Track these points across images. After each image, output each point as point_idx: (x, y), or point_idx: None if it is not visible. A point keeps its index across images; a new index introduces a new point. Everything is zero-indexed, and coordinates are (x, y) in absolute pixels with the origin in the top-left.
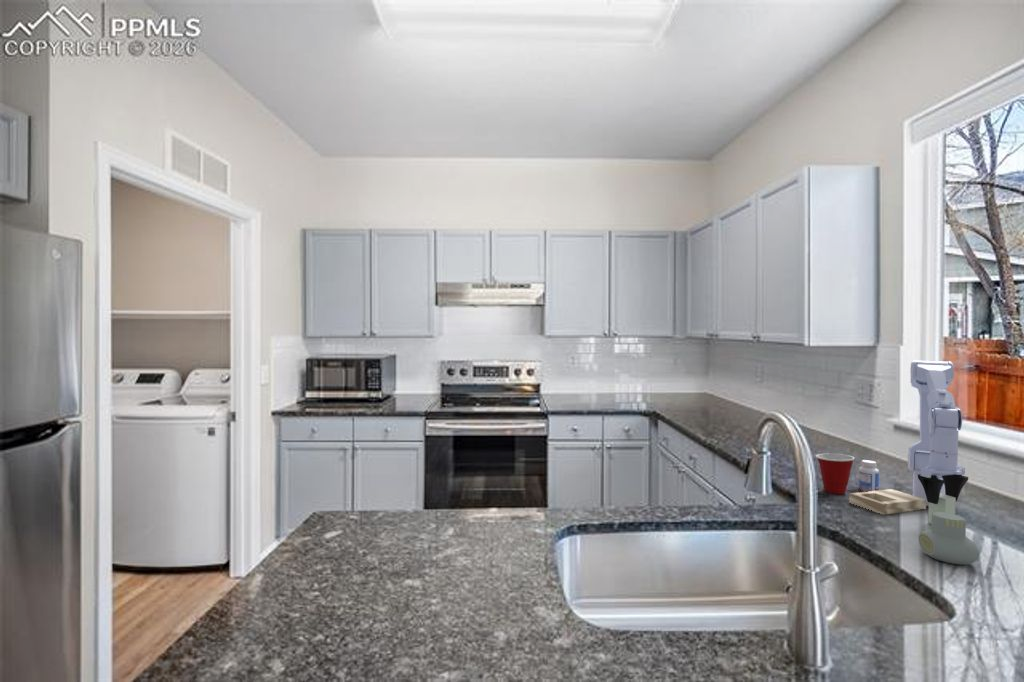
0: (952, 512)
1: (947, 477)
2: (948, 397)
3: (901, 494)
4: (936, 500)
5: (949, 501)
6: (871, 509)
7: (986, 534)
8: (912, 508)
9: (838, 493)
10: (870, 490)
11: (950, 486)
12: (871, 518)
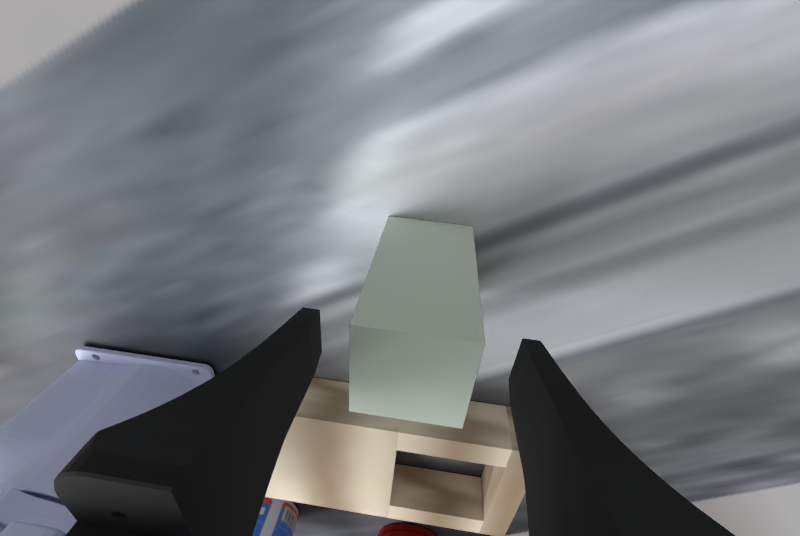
0: (401, 262)
1: (238, 533)
2: None
3: (287, 463)
4: (552, 361)
5: (434, 317)
6: None
7: (337, 77)
8: (342, 390)
9: (427, 532)
10: (286, 506)
11: (273, 429)
12: (644, 411)
